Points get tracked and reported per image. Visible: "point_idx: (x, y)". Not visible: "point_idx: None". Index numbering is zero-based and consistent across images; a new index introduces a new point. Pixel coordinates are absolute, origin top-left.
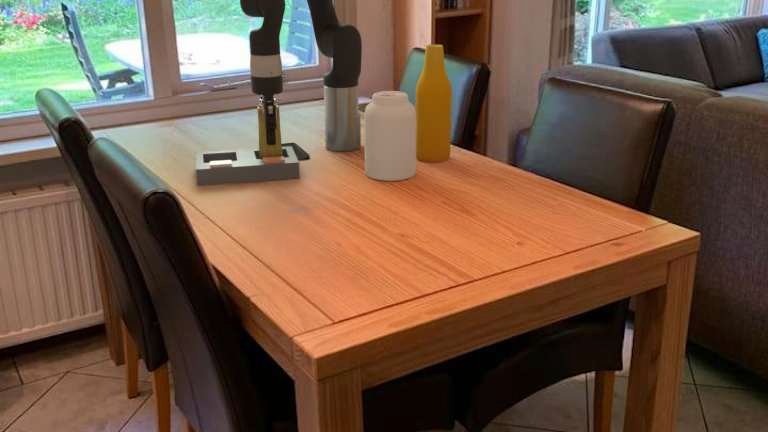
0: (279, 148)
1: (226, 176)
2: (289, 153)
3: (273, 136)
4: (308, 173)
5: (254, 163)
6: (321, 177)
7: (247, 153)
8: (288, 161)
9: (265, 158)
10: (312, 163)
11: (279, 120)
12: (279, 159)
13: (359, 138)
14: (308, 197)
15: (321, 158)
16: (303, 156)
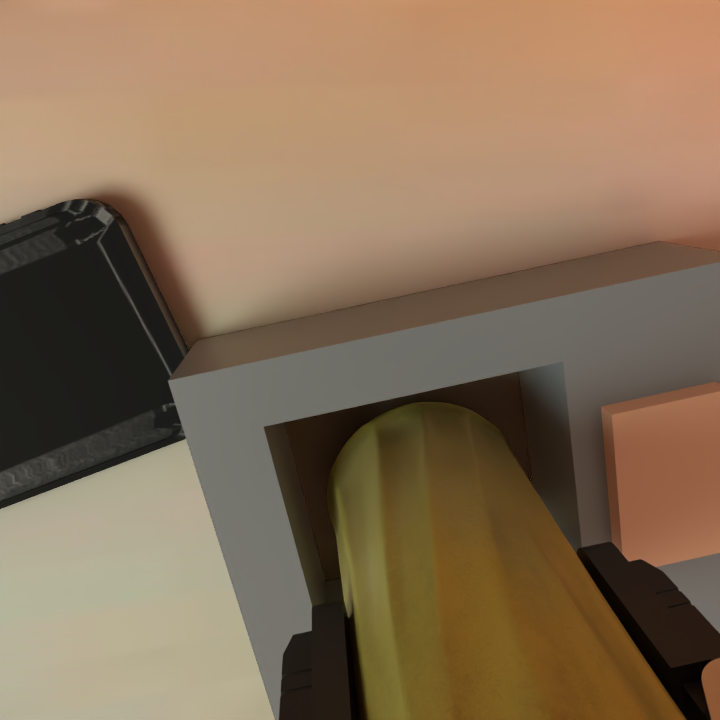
0: (504, 481)
1: None
2: (435, 373)
3: (696, 617)
4: (542, 180)
5: (697, 603)
6: (665, 61)
7: None
8: (698, 354)
9: (655, 549)
10: (258, 161)
11: (575, 716)
12: (708, 435)
13: None
14: None
15: (90, 80)
16: (107, 254)
